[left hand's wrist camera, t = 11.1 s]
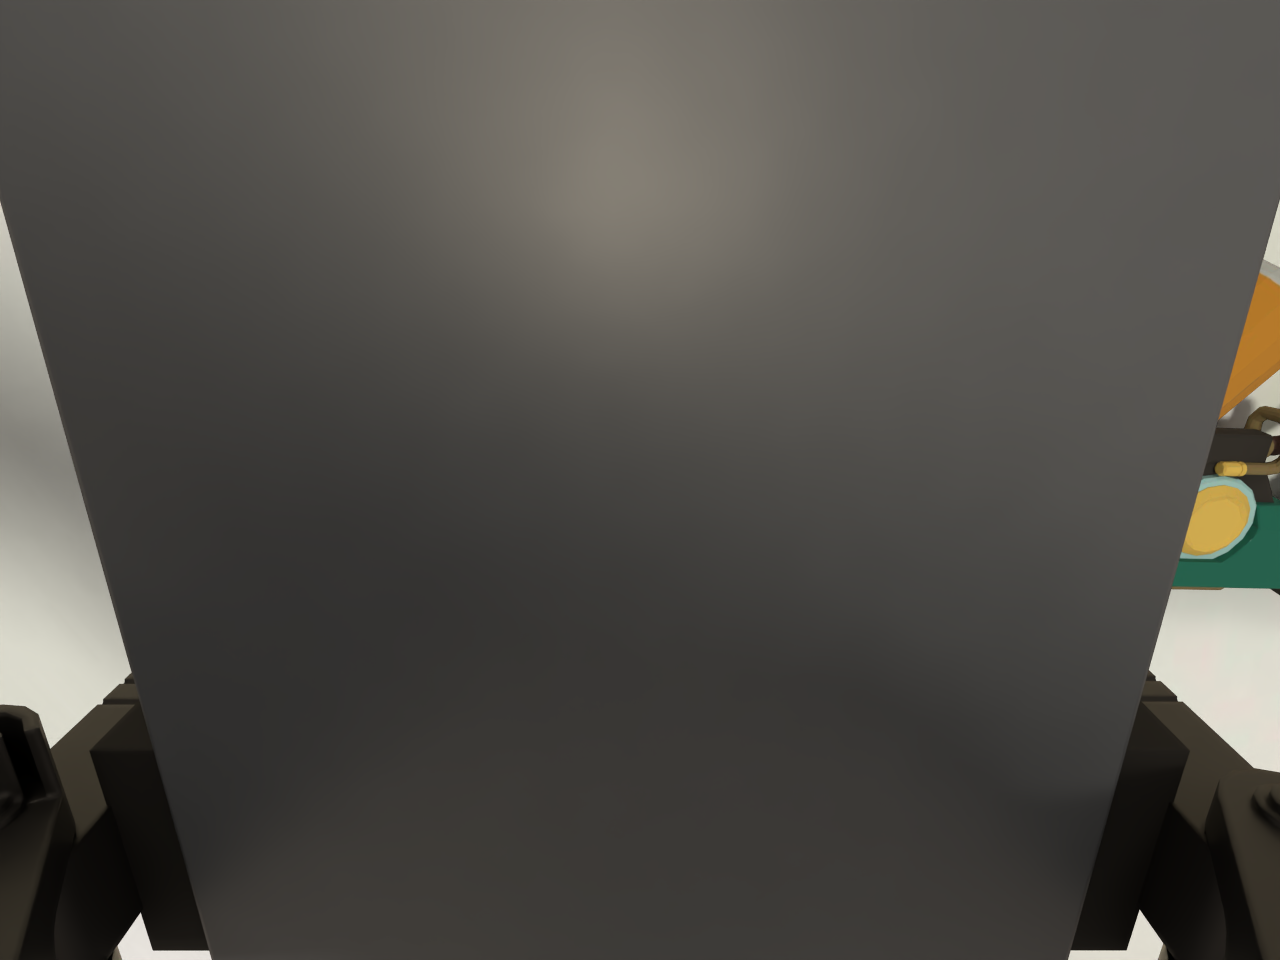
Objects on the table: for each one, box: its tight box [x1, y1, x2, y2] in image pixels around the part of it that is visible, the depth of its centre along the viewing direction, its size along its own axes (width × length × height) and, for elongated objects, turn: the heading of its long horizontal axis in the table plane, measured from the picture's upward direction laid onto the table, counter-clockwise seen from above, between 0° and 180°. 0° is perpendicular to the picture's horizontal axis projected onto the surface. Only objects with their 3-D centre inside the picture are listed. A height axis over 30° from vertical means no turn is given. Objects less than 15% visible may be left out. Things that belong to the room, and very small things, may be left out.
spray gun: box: [1171, 259, 1280, 595], centre depth 28 cm, size 4×17×15 cm
